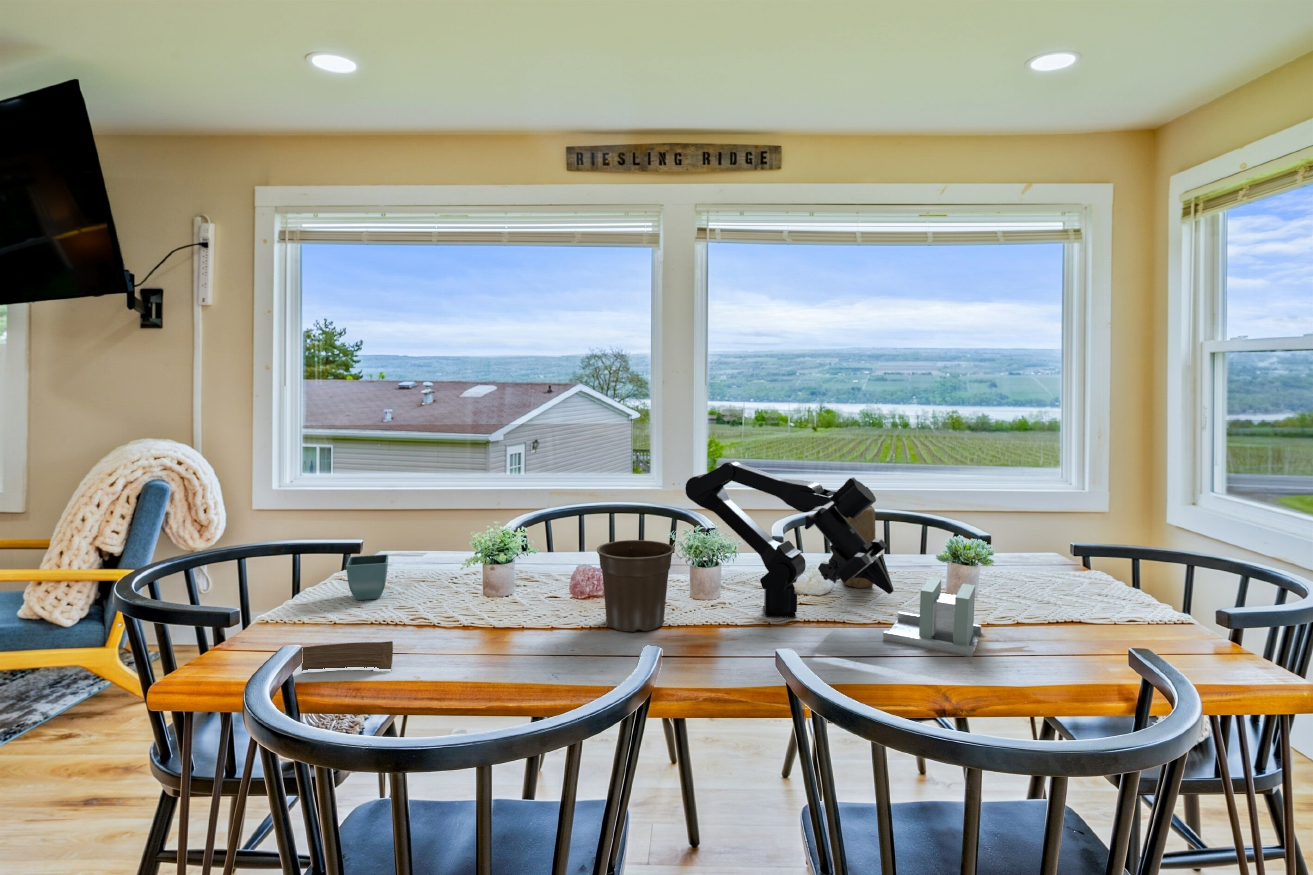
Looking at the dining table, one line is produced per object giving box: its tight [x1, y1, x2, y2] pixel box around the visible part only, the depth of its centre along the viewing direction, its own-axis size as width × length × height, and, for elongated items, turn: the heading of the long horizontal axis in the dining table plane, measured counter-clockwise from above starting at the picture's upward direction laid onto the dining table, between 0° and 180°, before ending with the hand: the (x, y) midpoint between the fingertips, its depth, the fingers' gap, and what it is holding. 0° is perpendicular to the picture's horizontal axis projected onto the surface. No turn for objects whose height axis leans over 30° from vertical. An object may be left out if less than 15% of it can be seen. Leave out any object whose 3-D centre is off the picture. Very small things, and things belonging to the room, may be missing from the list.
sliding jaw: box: [919, 577, 942, 639], centre depth 141 cm, size 2×10×10 cm, turn 150°
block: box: [843, 505, 877, 589], centre depth 179 cm, size 11×8×20 cm
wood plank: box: [301, 640, 394, 672], centre depth 126 cm, size 15×2×5 cm, turn 98°
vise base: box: [882, 611, 982, 658], centre depth 141 cm, size 16×15×2 cm
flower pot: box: [345, 554, 389, 601], centre depth 167 cm, size 9×9×9 cm
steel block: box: [934, 592, 957, 643], centre depth 139 cm, size 4×6×8 cm, turn 150°
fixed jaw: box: [953, 583, 976, 646], centre depth 138 cm, size 2×10×10 cm, turn 150°
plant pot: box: [596, 539, 675, 633], centre depth 150 cm, size 16×16×16 cm
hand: (891, 592), depth 144 cm, fingers closed
